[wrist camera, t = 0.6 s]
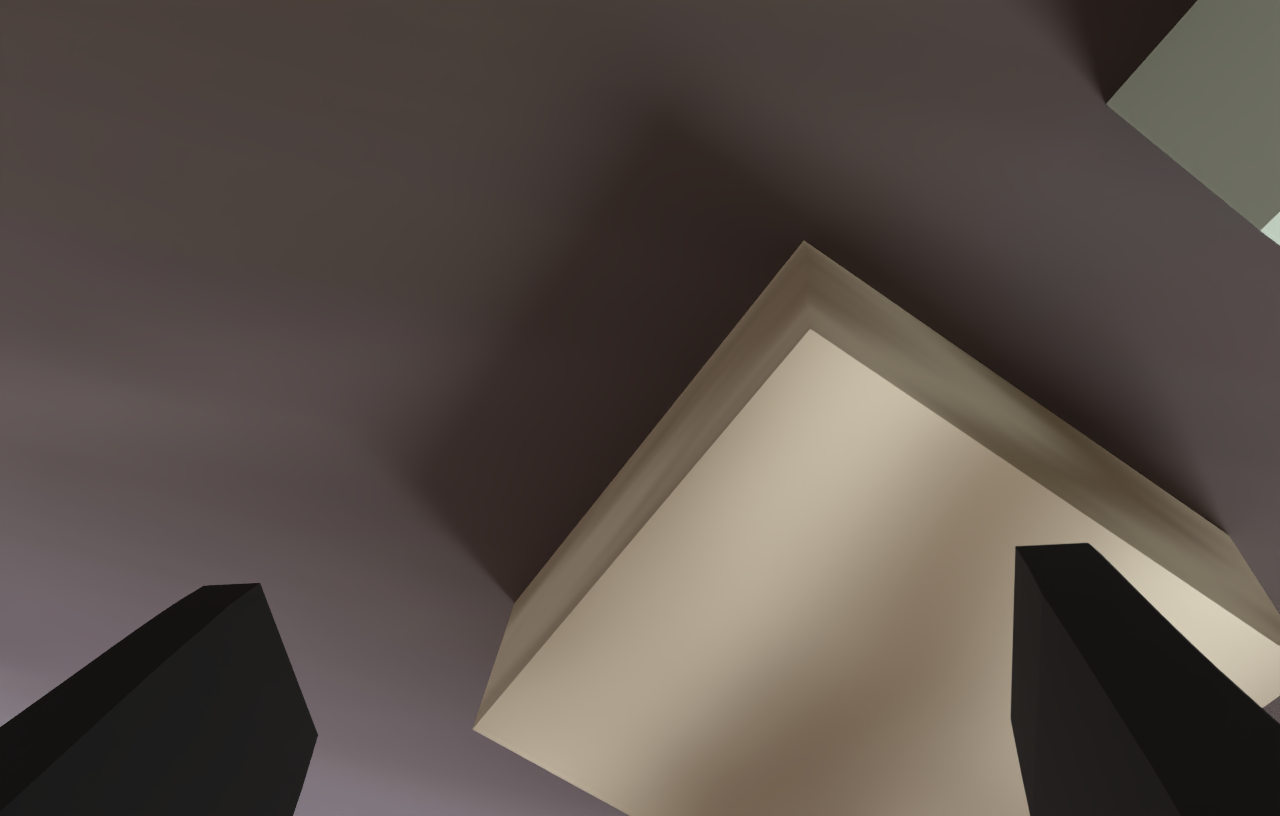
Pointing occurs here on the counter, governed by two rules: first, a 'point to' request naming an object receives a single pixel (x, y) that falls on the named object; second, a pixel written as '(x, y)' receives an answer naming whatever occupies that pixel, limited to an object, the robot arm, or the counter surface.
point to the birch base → (835, 578)
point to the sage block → (1217, 103)
